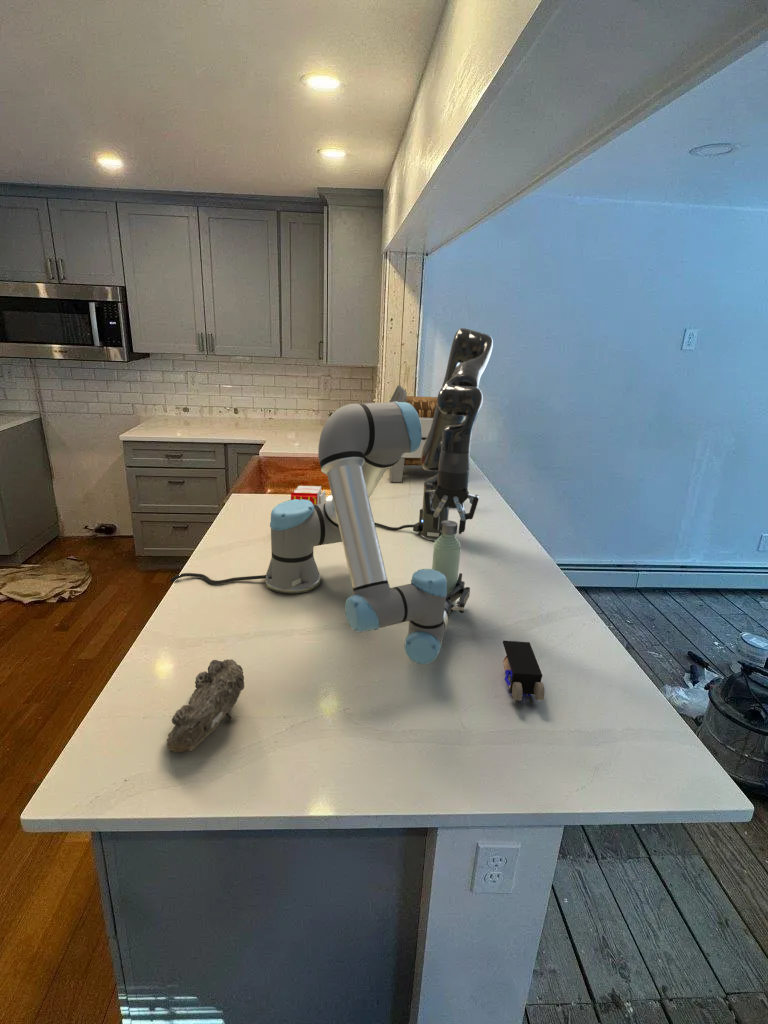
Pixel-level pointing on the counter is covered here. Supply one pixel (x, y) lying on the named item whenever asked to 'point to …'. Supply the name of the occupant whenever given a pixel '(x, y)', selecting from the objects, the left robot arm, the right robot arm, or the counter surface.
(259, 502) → the counter surface
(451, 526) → the cap
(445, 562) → the bottle
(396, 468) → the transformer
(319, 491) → the toy
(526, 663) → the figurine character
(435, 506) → the right robot arm
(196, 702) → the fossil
